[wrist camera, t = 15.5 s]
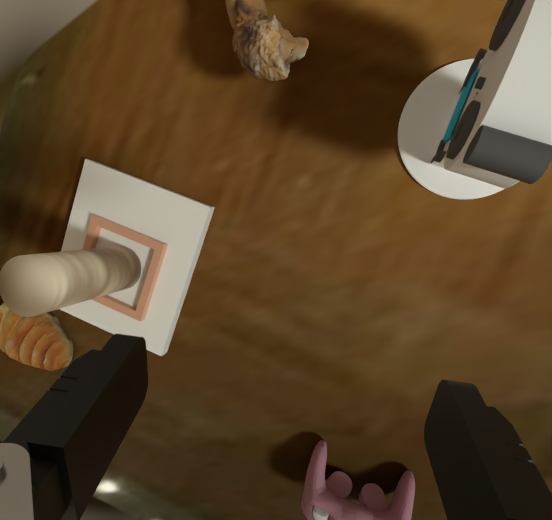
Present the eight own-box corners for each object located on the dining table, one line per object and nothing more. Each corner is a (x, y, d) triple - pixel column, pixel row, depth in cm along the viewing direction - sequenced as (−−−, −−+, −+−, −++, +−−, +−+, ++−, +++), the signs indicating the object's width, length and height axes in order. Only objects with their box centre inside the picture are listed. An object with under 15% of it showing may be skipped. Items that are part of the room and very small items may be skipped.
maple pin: (109, 239, 39) (7, 245, 28) (147, 256, 39) (59, 270, 27) (96, 278, 40) (-9, 301, 28) (133, 295, 39) (42, 326, 28)
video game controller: (308, 457, 40) (291, 529, 35) (317, 432, 38) (299, 507, 32) (404, 492, 39) (402, 574, 33) (419, 469, 36) (420, 554, 31)
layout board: (93, 160, 40) (79, 157, 38) (214, 207, 38) (207, 206, 36) (55, 301, 43) (41, 305, 41) (166, 352, 41) (157, 359, 39)
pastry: (89, 333, 43) (63, 344, 39) (64, 380, 44) (37, 396, 40) (24, 286, 44) (-7, 293, 40) (2, 334, 45) (-30, 344, 41)
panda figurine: (431, 36, 33) (491, -112, 18) (572, 73, 31) (766, -56, 16) (377, 174, 35) (392, 143, 20) (507, 217, 33) (627, 218, 18)
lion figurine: (323, 85, 35) (311, 40, 26) (271, 115, 36) (243, 83, 27) (250, -64, 35) (214, -158, 26) (200, -28, 36) (150, -107, 27)
